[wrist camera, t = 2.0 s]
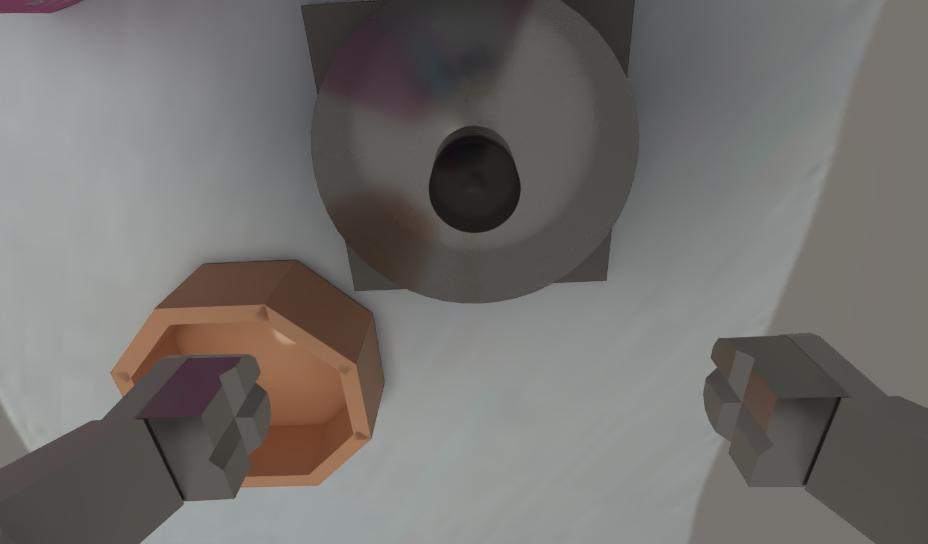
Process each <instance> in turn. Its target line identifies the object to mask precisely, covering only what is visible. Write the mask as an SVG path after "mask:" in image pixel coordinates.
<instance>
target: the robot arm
mask: <svg viewBox="0 0 928 544" xmlns="http://www.w3.org/2000/svg"><path fill="white" fill-rule="evenodd" d="M711 359H712V360H713V362H714V363H715V365H716V366H717V368H716V369H715V370H714V371H713V372H712V373H711V374H710V375H709V376H707V377H706V380H705V386H704V391H703V397H704V406H705V411H706V413H707V416H708V419H709V421H710V423H711V425H712V427H713V428H714V430H715V432H716V433H718V434H720V435H721V436H723V437H724V438H726V439H727V440H729V441H730V442H731V445H730V448H729V452H728V453H729V455H730V457H731V458H732V460H733V462H734V463H735V465H736V466H737V468H738V470H739V471H740V473H741V475H742V476H743V478H744V479H745V481H746V483H747V484H748V486H749V487H805V490H806V491H807V492H808V493H810V494H811V495H812V496H814V497H815V498H816V499H818V500H819V501H820V502H822V503H823V504H824V505H826V506H827V507H828V508H830V509H831V510H832V511H833V512H835V513H836V514H837V515H839V516H840V517H841V518H843V519H844V520H845V521H847V522H848V523H849V524H851V525H852V526H853V527H855V528H856V529H857V530H858V531H860V532H861V533H862V534H864V535H865V536H866V537H868V538H869V539H870V540H872V541H873V542H874V543H876V544H928V408H925V407H923V406H921V405H918V404H916V403H914V402H911V401H909V400H907V399H904V398H902V397H900V396H891V397H890V396H889V397H888V396H887V395H886V394H885V393H884V392H883V391H882V390H880V389H879V388H878V387H877V386H876V385H875V384H873V383H872V382H871V381H870V380H869V379H868V378H867V377H866V376H864V375H863V374H862V373H861V372H860V371H859V370H858V369H856V368H855V367H854V366H853V365H852V364H851V363H850V362H849V361H847V360H846V359H845V358H844V357H843V356H842V355H841V354H839V353H838V352H837V351H836V350H835V349H834V348H833V347H831V346H830V345H829V344H828V343H827V342H826V341H825V340H823V339H822V338H821V337H820V336H817V335H815V334H812V333H798V334H781V335H778V336H757V337H733V338H718V340H717V341H716V343H715V344H714V346H713V350H712V354H711ZM260 374H261V371H260V368H259V366H258V363H257V360H256V358H255V357H253V356H251V355H250V354H213V355H173V356H167V357H163V358H160V359H159V360H158V361H157V362H156V363H155V364H154V365H153V366H152V367H151V369H150V370H149V371H148V372H147V373H146V374H145V375H144V376H143V377H142V378H141V379H140V380H139V381H138V382H137V383H136V384H135V385H134V386H133V387H132V388H131V389H130V390H129V392H128V393H127V394H126V395H125V396H124V397H123V398H122V399H121V400H120V401H119V402H118V403H117V404H116V405H115V406H114V407H113V408H112V409H111V410H110V411H109V412H108V414H107V415H106V416H105V417H104V418H103V419H102V420H94V421H90V422H88V423H86V424H84V425H82V426H80V427H79V428H77V429H75V430H73V431H71V432H69V433H67V434H65V435H63V436H61V437H60V438H58V439H56V440H54V441H52V442H50V443H48V444H46V445H44V446H42V447H41V448H39V449H37V450H35V451H33V452H31V453H29V454H27V455H25V456H23V457H22V458H20V459H18V460H16V461H14V462H12V463H10V464H8V465H7V466H4V467H3V468H1V469H0V544H140V543H141V542H142V541H143V540H144V539H145V538H146V537H148V536H149V535H150V534H151V533H152V532H153V531H154V530H155V529H157V528H158V527H159V526H160V525H161V524H162V523H163V522H164V521H166V520H167V519H168V518H169V517H170V516H171V515H172V514H173V513H175V512H176V511H177V510H178V509H179V508H180V507H181V506H182V505H184V502H183V501H200V500H219V499H235V497H236V495H237V493H238V491H239V489H240V487H241V485H242V483H243V481H244V479H245V477H246V475H247V473H248V472H249V470H250V468H251V466H252V465H251V462H250V459H249V456H248V455H249V454H250V453H252V452H253V451H254V450H256V449H257V448H258V447H260V446H261V445H262V444H263V442H264V439H265V437H266V435H267V433H268V431H269V425H270V420H271V405H270V400H269V396H268V393H267V391H265V390H264V389H263V388H262V387H261V386H259V385H258V384H257V383H256V381H257V379H258V377H259V376H260Z"/></svg>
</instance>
